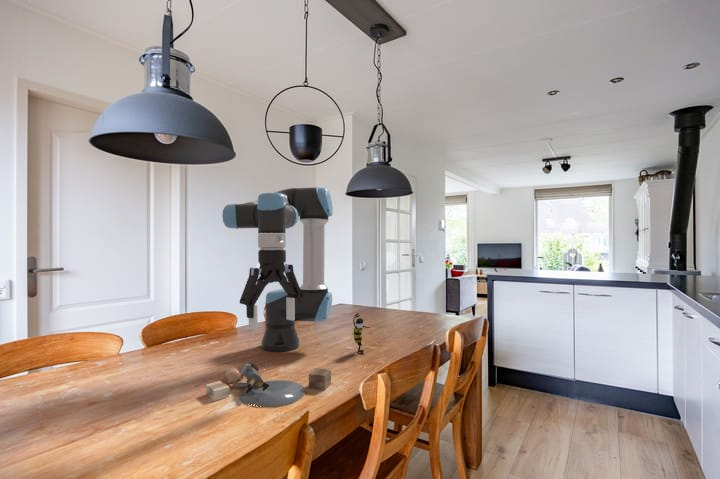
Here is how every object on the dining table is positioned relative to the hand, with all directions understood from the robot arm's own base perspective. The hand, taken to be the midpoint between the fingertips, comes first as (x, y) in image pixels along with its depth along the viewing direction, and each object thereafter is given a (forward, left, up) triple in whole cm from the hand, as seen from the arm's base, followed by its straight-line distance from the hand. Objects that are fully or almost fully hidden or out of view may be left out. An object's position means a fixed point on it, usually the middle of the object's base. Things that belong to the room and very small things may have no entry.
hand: (272, 324), depth 104 cm
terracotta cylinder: (-15, -1, -18) cm, 24 cm away
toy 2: (-3, +47, -20) cm, 51 cm away
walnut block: (+7, +12, -20) cm, 24 cm away
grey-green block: (-11, -10, -20) cm, 25 cm away
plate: (0, 0, -20) cm, 20 cm away
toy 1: (-1, -8, -17) cm, 18 cm away
